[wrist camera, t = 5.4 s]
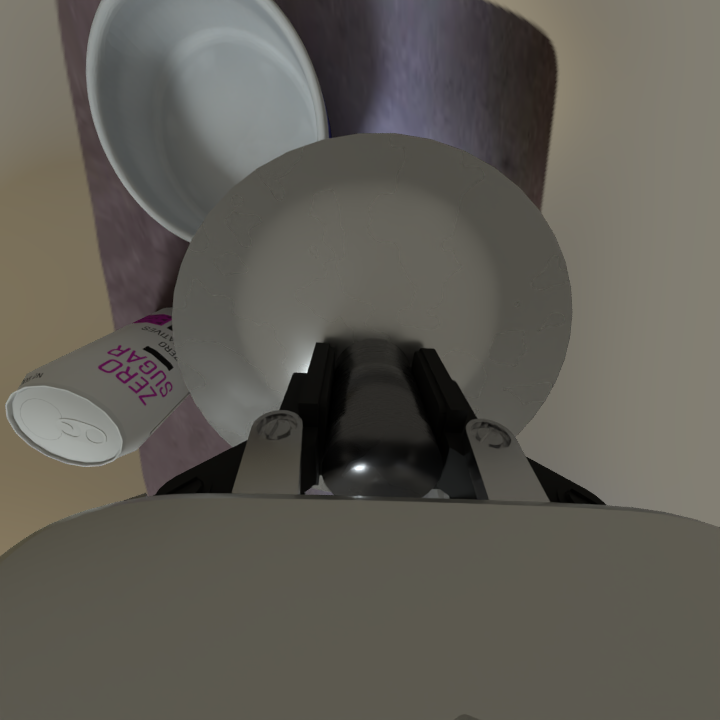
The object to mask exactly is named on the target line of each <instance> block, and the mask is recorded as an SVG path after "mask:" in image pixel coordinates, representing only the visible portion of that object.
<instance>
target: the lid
mask: <svg viewBox="0 0 720 720" xmlns="http://www.w3.org/2000/svg"><path fill="white" fill-rule="evenodd" d="M571 321H572V299H571V286H570V281H569V277H568V272H567V267H566V262H565V259H564V257H563V255H562V252H561V250H560V247H559V244H558V242H557V239H556V237H555V235H554V233H553V232H552V230H551V228H550V227H549V225H548V223H547V222H546V220H545V219H544V217H543V215H542V214H541V212H540V210H539V209H538V208H537V207H536V206H535V205H534V204H533V202H532V201H531V200H530V199H529V198H528V197H527V196H526V194H525V193H524V192H523V191H522V190H521V189H520V188H519V187H518V186H517V185H516V184H514V183H513V182H512V181H511V180H509V179H508V178H507V177H506V176H504V175H503V174H502V173H501V172H499V171H498V170H497V169H496V168H494V167H493V166H491V165H489V164H487V163H486V162H484V161H482V160H480V159H478V158H476V157H475V156H473V155H471V154H469V153H467V152H466V151H463V150H461V149H458V148H455V147H452V146H449V145H446V144H443V143H440V142H437V141H434V140H431V139H426V138H420V137H414V136H408V135H402V134H396V133H362V134H352V135H347V136H341V137H335V138H329V139H323V140H320V141H317V142H314V143H311V144H308V145H305V146H302V147H300V148H297V149H294V150H291V151H288V152H286V153H284V154H282V155H281V156H279V157H277V158H275V159H273V160H272V161H270V162H268V163H266V164H264V165H262V166H261V167H259V168H257V169H256V170H254V171H253V172H252V173H251V174H249V175H248V176H247V177H245V178H244V179H243V180H242V181H240V182H239V183H238V184H236V185H235V186H234V187H233V188H231V189H230V190H229V191H228V192H227V194H226V195H225V196H224V197H223V198H222V199H221V200H220V201H219V202H218V203H217V204H216V206H215V207H214V208H213V209H212V210H211V211H210V212H209V213H208V215H207V216H206V218H205V220H204V221H203V223H202V224H201V226H200V227H199V229H198V230H197V232H196V233H195V235H194V237H193V238H192V240H191V242H190V245H189V247H188V249H187V252H186V254H185V256H184V259H183V261H182V263H181V266H180V270H179V274H178V278H177V282H176V286H175V289H174V297H173V308H172V329H173V342H174V347H175V352H176V356H177V361H178V365H179V368H180V371H181V373H182V376H183V379H184V381H185V384H186V387H187V388H188V390H189V392H190V394H191V396H192V398H193V400H194V402H195V404H196V405H197V407H198V408H199V410H200V411H201V413H202V414H203V415H204V417H205V418H206V420H207V421H208V422H209V424H210V425H211V426H212V427H213V428H214V429H215V430H216V431H217V432H218V434H219V435H220V436H221V437H222V438H223V439H224V440H225V441H226V442H228V443H229V444H230V445H231V446H232V447H234V446H236V445H238V444H240V443H242V442H244V441H246V440H248V437H249V434H250V430H251V427H252V425H253V423H254V421H255V420H256V419H258V418H259V417H260V416H262V415H263V414H265V413H268V412H271V411H276V410H279V409H280V406H281V404H282V401H283V399H284V396H285V393H286V391H287V388H288V385H289V383H290V380H291V377H292V375H293V373H294V372H297V373H307V371H308V368H309V364H310V361H311V358H312V354H313V351H314V347H315V344H316V342H320V343H330V347H335V366H334V377H333V385H332V393H331V400H330V408H329V416H328V423H327V431H326V438H325V444H324V452H323V459H322V468H321V471H322V475H320V477H319V485H314V486H312V487H311V488H314V489H318V490H323V491H328V492H332V493H333V494H334V495H340V496H377V497H411V498H422V497H423V496H425V495H426V494H427V493H429V492H430V491H431V490H432V489H433V488H434V486H435V485H436V484H437V482H438V481H439V479H440V477H441V474H442V469H443V461H442V456H441V454H440V451H439V448H438V445H437V442H436V439H435V436H434V433H433V430H432V427H431V425H430V422H429V419H428V416H427V413H426V410H425V407H424V404H423V401H422V398H421V396H420V393H419V390H418V387H417V384H416V381H415V378H414V375H413V372H412V369H411V368H412V362H413V357H414V353H415V351H419V349H420V348H432V349H435V350H436V352H437V354H438V356H439V357H440V359H441V361H442V363H443V364H444V366H445V368H446V370H447V372H448V373H449V375H450V377H451V379H452V380H455V381H456V382H457V384H458V386H459V387H460V389H461V391H462V393H463V394H464V396H465V398H466V399H467V401H468V403H469V405H470V406H471V408H472V410H473V412H474V413H475V415H476V417H477V419H488V420H492V421H494V422H497V423H499V424H501V425H503V426H504V427H506V428H507V429H508V430H510V431H511V432H512V434H513V435H514V436H516V435H518V434H519V433H520V432H521V430H522V429H523V428H524V427H525V426H526V425H527V424H528V423H529V422H530V420H531V419H532V418H533V417H534V415H535V414H536V413H537V411H538V410H539V408H540V407H541V406H542V404H543V403H544V402H545V400H546V398H547V396H548V395H549V393H550V391H551V389H552V387H553V385H554V384H555V382H556V380H557V377H558V375H559V372H560V370H561V367H562V364H563V362H564V359H565V355H566V351H567V347H568V343H569V339H570V330H571Z"/></svg>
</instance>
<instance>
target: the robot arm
mask: <svg viewBox="0 0 720 720" xmlns="http://www.w3.org/2000/svg"><path fill="white" fill-rule="evenodd" d="M334 366H335V347H330V343H320V342H316V344H315V347H314V351H313V354H312V358H311V361H310V364H309V368H308V371H307V373H297V372H294V373H293V375H292V377H291V380H290V383H289V385H288V388H287V391H286V393H285V396H284V399H283V401H282V404H281V406H280V409H279V410H276V411H271V412H268V413H265V414H263V415H262V416H260V417H259V418H258V419H256V420H255V421H254V423H253V425H252V427H251V430H250V434H249V437H248V440H246V441H244V442H242V443H240V444H238V445H236V446H234V447H232V448H230V449H229V450H227V451H225V452H223V453H221V454H219V455H217V456H215V457H213V458H211V459H209V460H207V461H205V462H203V463H201V464H199V465H197V466H195V467H193V468H191V469H189V470H187V471H186V472H184V473H182V474H180V475H178V476H176V477H174V478H173V479H171V480H170V481H168V482H167V483H165V484H164V485H163V486H162V487H161V488H160V489H159V490H158V492H157V493H156V494H155V495H153V496H147V494H146V493H144V494H141V495H138V496H136V497H132V498H129V499H127V500H124V501H120V502H115V503H111V504H108V505H104V506H100V507H97V508H93V509H89V510H86V511H83V512H80V513H77V514H74V515H71V516H69V517H66V518H64V519H62V520H59V521H57V522H54V523H52V524H49V525H47V526H46V527H44V528H42V529H40V530H38V531H36V532H34V533H33V534H31V535H29V536H28V537H26V538H25V539H23V540H22V541H20V542H19V543H18V544H16V545H15V546H13V547H12V548H10V549H9V550H8V551H7V552H5V553H4V554H3V555H1V556H0V720H720V527H717V526H714V525H711V524H708V523H705V522H701V521H698V520H695V519H692V518H688V517H683V516H679V515H674V514H670V513H666V512H661V511H653V510H647V509H640V508H633V507H619V506H608V505H606V504H605V503H604V502H603V501H601V500H600V499H599V498H598V497H597V496H596V495H594V494H593V493H591V492H589V491H588V490H586V489H585V488H583V487H581V486H579V485H577V484H575V483H573V482H572V481H570V480H568V479H566V478H564V477H563V476H561V475H559V474H557V473H555V472H553V471H551V470H550V469H548V468H546V467H544V466H542V465H540V464H538V463H537V462H535V461H533V460H531V459H529V458H528V457H526V456H525V455H524V453H523V451H522V449H521V447H520V445H519V443H518V441H517V440H516V438H515V436H514V435H513V434H512V432H511V431H510V430H508V429H507V428H506V427H504V426H503V425H501V424H499V423H497V422H494V421H492V420H488V419H477V417H476V415H475V413H474V412H473V410H472V408H471V406H470V405H469V403H468V401H467V399H466V398H465V396H464V394H463V393H462V391H461V389H460V387H459V386H458V384H457V382H456V381H455V380H452V379H451V377H450V375H449V373H448V372H447V370H446V368H445V366H444V364H443V363H442V361H441V359H440V357H439V356H438V354H437V352H436V350H435V349H432V348H420V349H419V351H415V353H414V357H413V362H412V368H411V369H412V372H413V375H414V378H415V381H416V384H417V387H418V390H419V393H420V396H421V398H422V401H423V404H424V407H425V410H426V413H427V416H428V419H429V422H430V425H431V427H432V430H433V433H434V436H435V439H436V442H437V445H438V448H439V451H440V454H441V456H442V461H443V469H442V474H441V477H440V479H439V481H438V482H437V484H436V485H435V486H434V488H433V489H432V490H431V491H430V492H429V493H427V494H426V495H425V496H423V497H422V498H411V497H377V496H340V495H306V491H307V490H308V489H310V488H311V487H312V486H314V485H319V477H320V475H322V471H321V468H322V459H323V452H324V444H325V438H326V431H327V423H328V416H329V408H330V400H331V393H332V385H333V377H334Z"/></svg>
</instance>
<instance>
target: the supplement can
mask: <svg viewBox="0 0 720 720" xmlns="http://www.w3.org/2000/svg"><path fill="white" fill-rule="evenodd" d="M172 308H173V307H170V308H163V309H161V310H159V311H157V312H155V313H153V314H151V315H148V316H146V317H144V318H142V319H140V320H138V321H136V322H134V323H132V324H130V325H127V326H125V327H123V328H121V329H119V330H117V331H115V332H113V333H111V334H109V335H106V336H104V337H103V338H100V339H98V340H96V341H94V342H92V343H90V344H88V345H85V346H83V347H81V348H79V349H77V350H75V351H73V352H71V353H69V354H67V355H65V356H62V357H60V358H58V359H56V360H54V361H52V362H50V363H48V364H46V365H43V366H41V367H39V368H37V369H35V370H34V371H32V372H30V373H28V374H27V375H26V376H25V378H24V380H23V381H22V383H21V385H20V386H19V388H18V390H17V391H15V392H13V393H12V394H11V395H10V397H9V399H8V401H7V402H6V404H5V407H6V416H7V419H8V421H9V422H10V424H11V426H12V428H13V429H14V431H15V433H17V435H19V436H20V437H21V438H22V439H23V440H24V441H25V442H26V443H27V444H28V445H29V446H31V447H32V448H34V449H36V450H37V451H39V452H41V453H43V454H44V455H46V456H47V457H51V458H53V459H56V460H58V461H61V462H63V463H66V464H71V465H77V466H83V467H91V466H102V465H105V464H107V463H110V462H112V461H114V460H115V459H116V458H118V457H120V456H123V455H126V454H128V453H131V452H133V451H136V450H137V449H138V448H139V447H140V446H141V445H142V444H143V443H144V442H145V441H146V440H147V439H148V437H149V436H150V435H151V434H152V433H153V432H154V431H155V430H156V429H157V428H158V427H159V426H160V425H161V424H162V423H163V422H164V421H165V419H166V418H167V417H168V416H169V415H170V414H171V413H172V412H173V411H174V410H175V409H176V408H177V407H178V406H179V405H180V404H181V403H182V401H183V400H184V399H185V398H186V397H187V396H188V395H189V394H190V392H189V390H188V388H187V387H186V384H185V381H184V379H183V376H182V373H181V371H180V368H179V365H178V361H177V356H176V352H175V347H174V342H173V329H172Z"/></svg>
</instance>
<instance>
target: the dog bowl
mask: <svg viewBox="0 0 720 720" xmlns="http://www.w3.org/2000/svg"><path fill="white" fill-rule="evenodd" d="M86 79H87V91H88V98H89V104H90V109H91V113H92V117H93V121H94V124H95V127H96V131H97V134H98V136H99V139H100V142H101V144H102V147H103V149H104V151H105V153H106V155H107V157H108V159H109V161H110V163H111V165H112V167H113V169H114V170H115V172H116V174H117V175H118V177H119V178H120V180H121V182H122V183H123V184H124V186H125V187H126V189H127V190H128V191H129V193H130V194H131V195H132V196H133V198H134V199H135V200H136V201H137V202H138V203H139V205H140V206H141V207H142V208H143V209H144V210H145V211H146V212H147V213H148V214H149V215H150V216H151V217H152V218H154V219H155V220H156V221H157V222H158V223H159V224H161V225H162V226H163V227H165V228H166V229H167V230H169V231H170V232H172V233H173V234H175V235H177V236H178V237H180V238H182V239H184V240H186V241H188V242H191V240H192V238H193V237H194V235H195V233H196V232H197V230H198V229H199V227H200V226H201V224H202V223H203V221H204V220H205V218H206V216H207V215H208V213H209V212H210V211H211V210H212V209H213V208H214V207H215V206H216V204H217V203H218V202H219V201H220V200H221V199H222V198H223V197H224V196H225V195H226V194H227V192H228V191H229V190H230V189H231V188H233V187H234V186H235V185H236V184H238V183H239V182H240V181H242V180H243V179H244V178H245V177H247V176H248V175H249V174H251V173H252V172H253V171H254V170H256V169H257V168H259V167H261V166H262V165H264V164H266V163H268V162H270V161H272V160H273V159H275V158H277V157H279V156H281V155H282V154H284V153H286V152H288V151H291V150H294V149H297V148H300V147H302V146H305V145H308V144H311V143H314V142H317V141H320V140H323V139H329V138H332V136H331V129H330V123H329V118H328V114H327V109H326V105H325V101H324V97H323V94H322V91H321V88H320V84H319V81H318V78H317V75H316V73H315V70H314V67H313V64H312V62H311V60H310V57H309V55H308V53H307V50H306V48H305V46H304V44H303V42H302V40H301V39H300V37H299V35H298V33H297V32H296V30H295V28H294V27H293V25H292V24H291V22H290V21H289V19H288V18H287V17H286V15H285V14H284V13H283V11H282V10H281V9H280V7H279V6H278V5H277V4H276V3H275V2H274V0H101V2H100V4H99V7H98V9H97V11H96V14H95V17H94V20H93V23H92V26H91V30H90V35H89V40H88V46H87V57H86Z"/></svg>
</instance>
